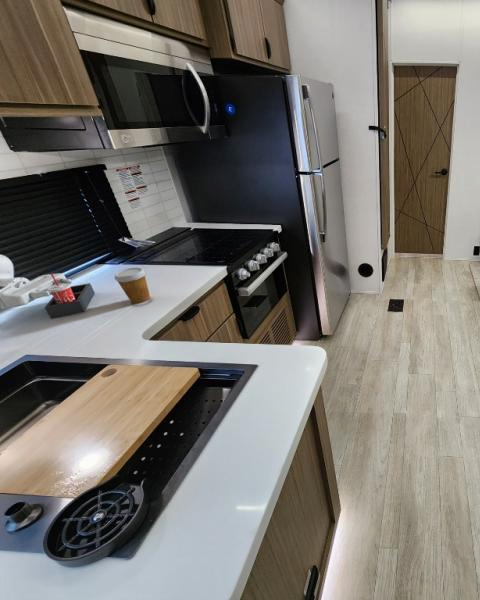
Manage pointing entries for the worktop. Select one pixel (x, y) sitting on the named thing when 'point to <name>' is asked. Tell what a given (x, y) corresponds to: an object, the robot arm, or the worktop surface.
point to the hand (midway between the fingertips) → (60, 287)
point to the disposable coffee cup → (133, 284)
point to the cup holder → (82, 297)
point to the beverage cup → (61, 292)
